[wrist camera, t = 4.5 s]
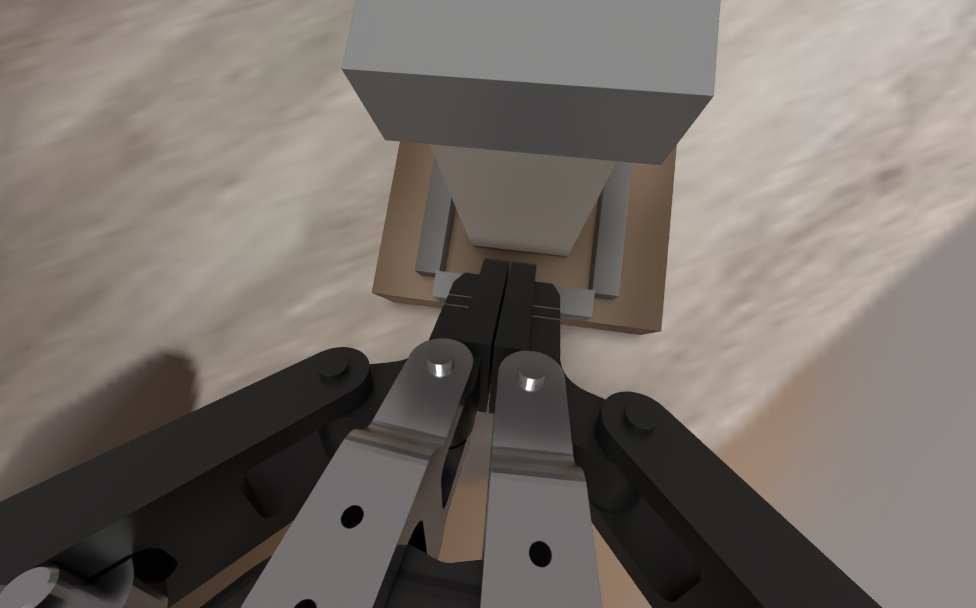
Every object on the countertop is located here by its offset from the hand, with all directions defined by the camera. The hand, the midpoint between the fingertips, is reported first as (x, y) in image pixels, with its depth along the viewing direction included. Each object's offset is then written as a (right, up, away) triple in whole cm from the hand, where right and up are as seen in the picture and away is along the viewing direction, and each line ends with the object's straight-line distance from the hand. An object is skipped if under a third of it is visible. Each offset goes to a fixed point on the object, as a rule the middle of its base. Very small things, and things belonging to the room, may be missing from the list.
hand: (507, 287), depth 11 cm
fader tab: (+1, +3, +4) cm, 6 cm away
